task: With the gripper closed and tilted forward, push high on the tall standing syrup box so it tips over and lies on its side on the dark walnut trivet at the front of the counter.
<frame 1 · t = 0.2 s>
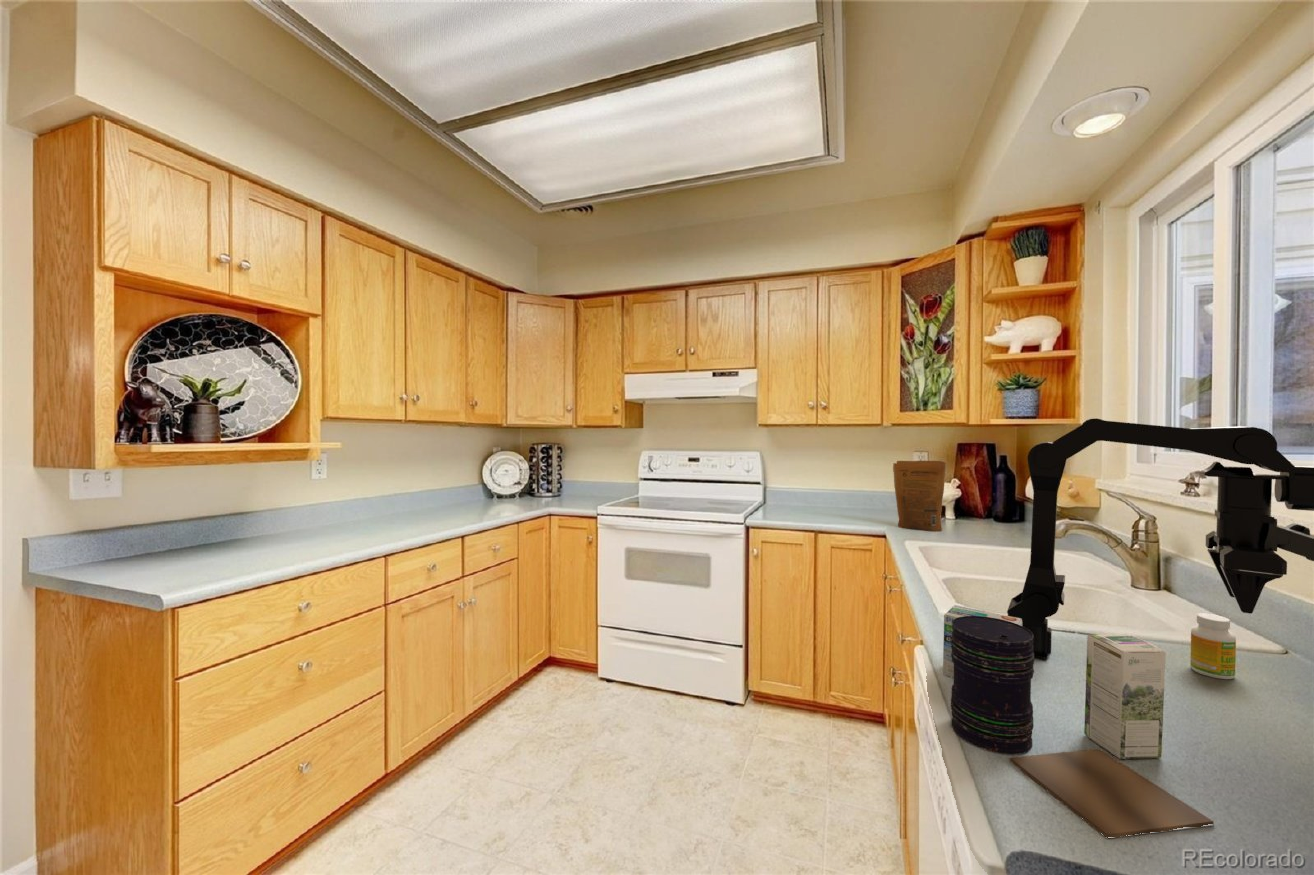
hand: (1240, 604, 85), 14 cm above the worktop, tool pointing down, fingers open, 9 cm apart
walnut trivet: (1102, 790, 63), on the worktop
supplement bottle: (1212, 674, 93), on the worktop
black ridged cylinder: (990, 735, 75), on the worktop
light bulb box: (981, 679, 92), on the worktop
pancake mix bag: (919, 529, 217), on the worktop
syrup box: (1122, 748, 72), on the worktop
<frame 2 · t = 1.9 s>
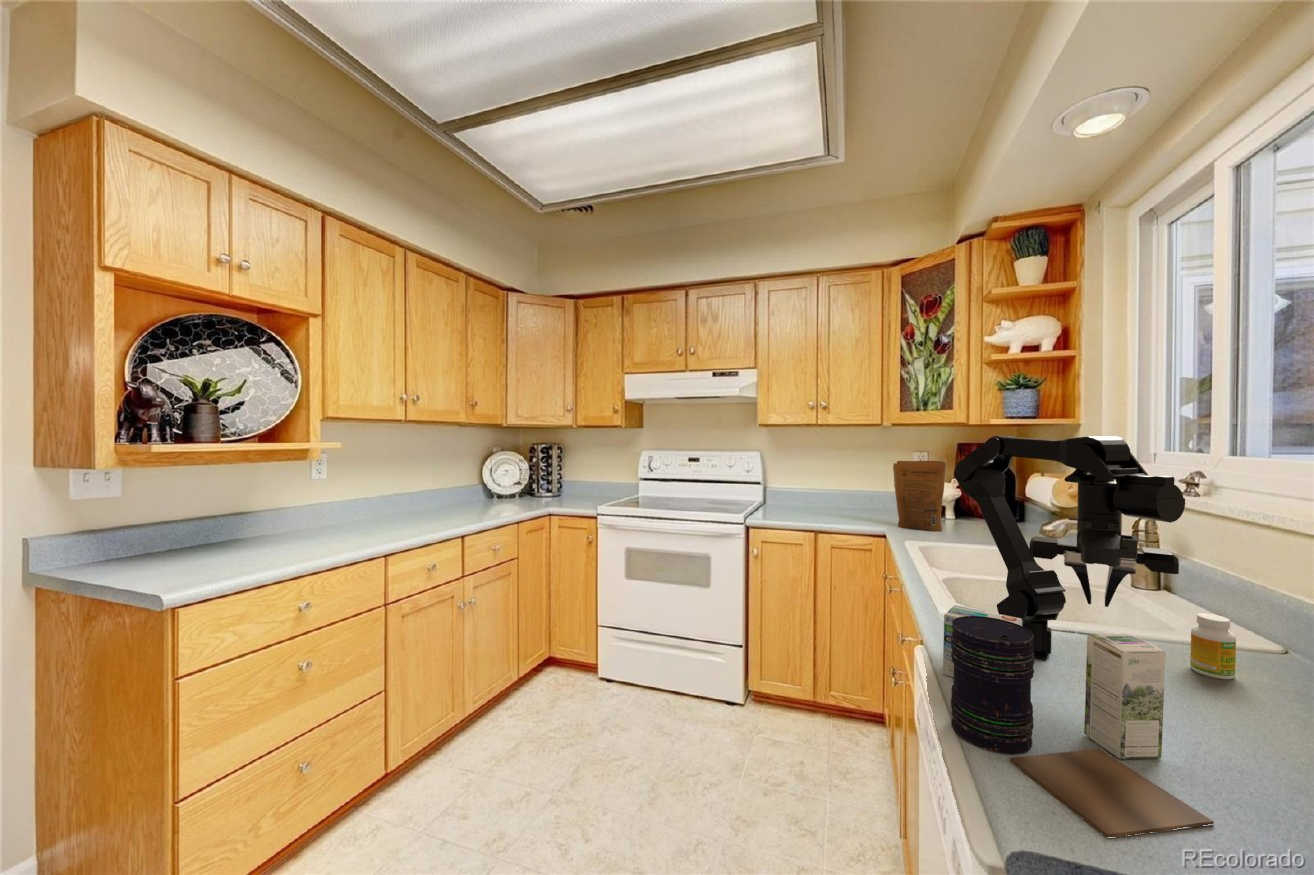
hand: (1097, 605, 89), 13 cm above the worktop, tool pointing down, fingers closed
nothing on the worktop moved.
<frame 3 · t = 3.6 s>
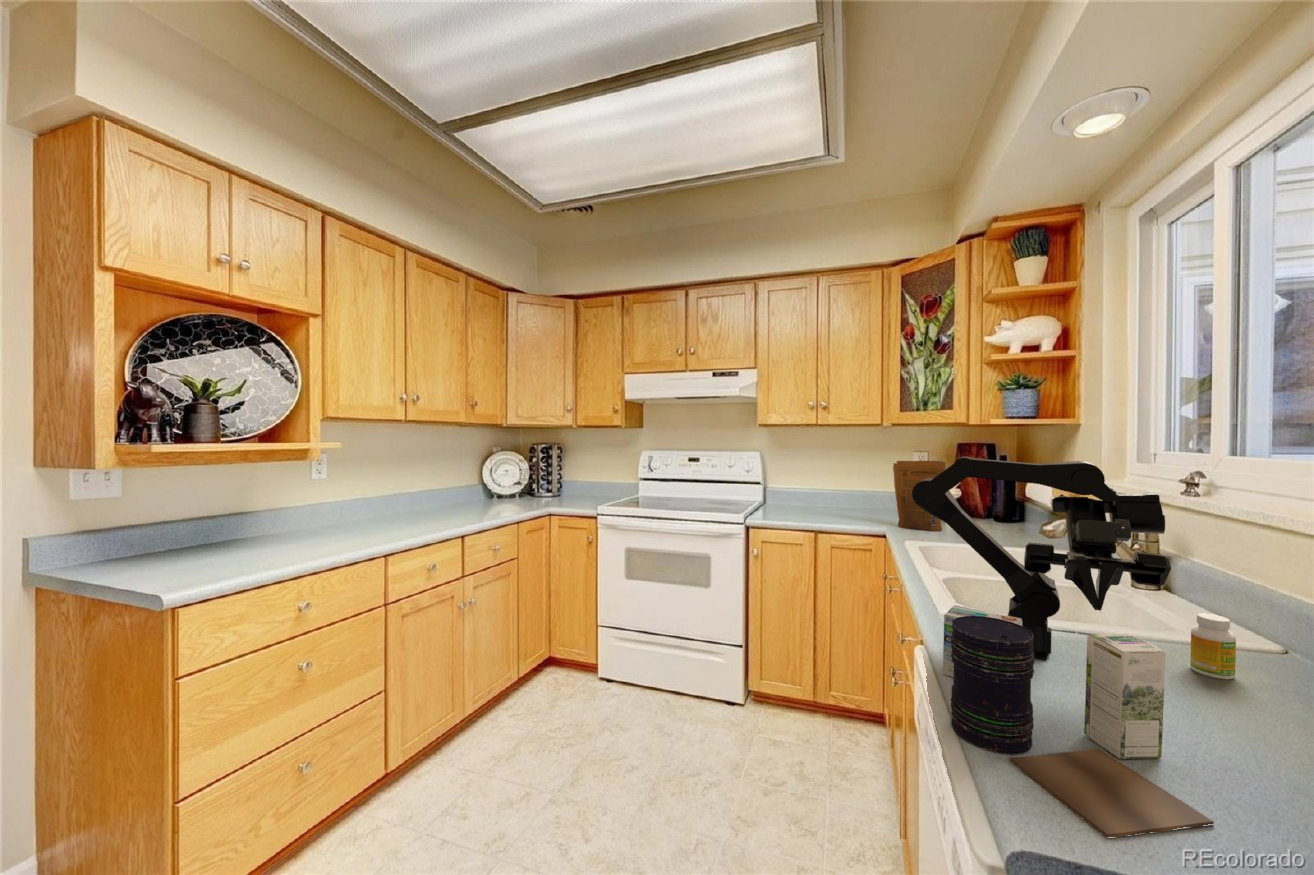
hand: (1098, 609, 86), 14 cm above the worktop, tool tilted 45°, fingers closed
nothing on the worktop moved.
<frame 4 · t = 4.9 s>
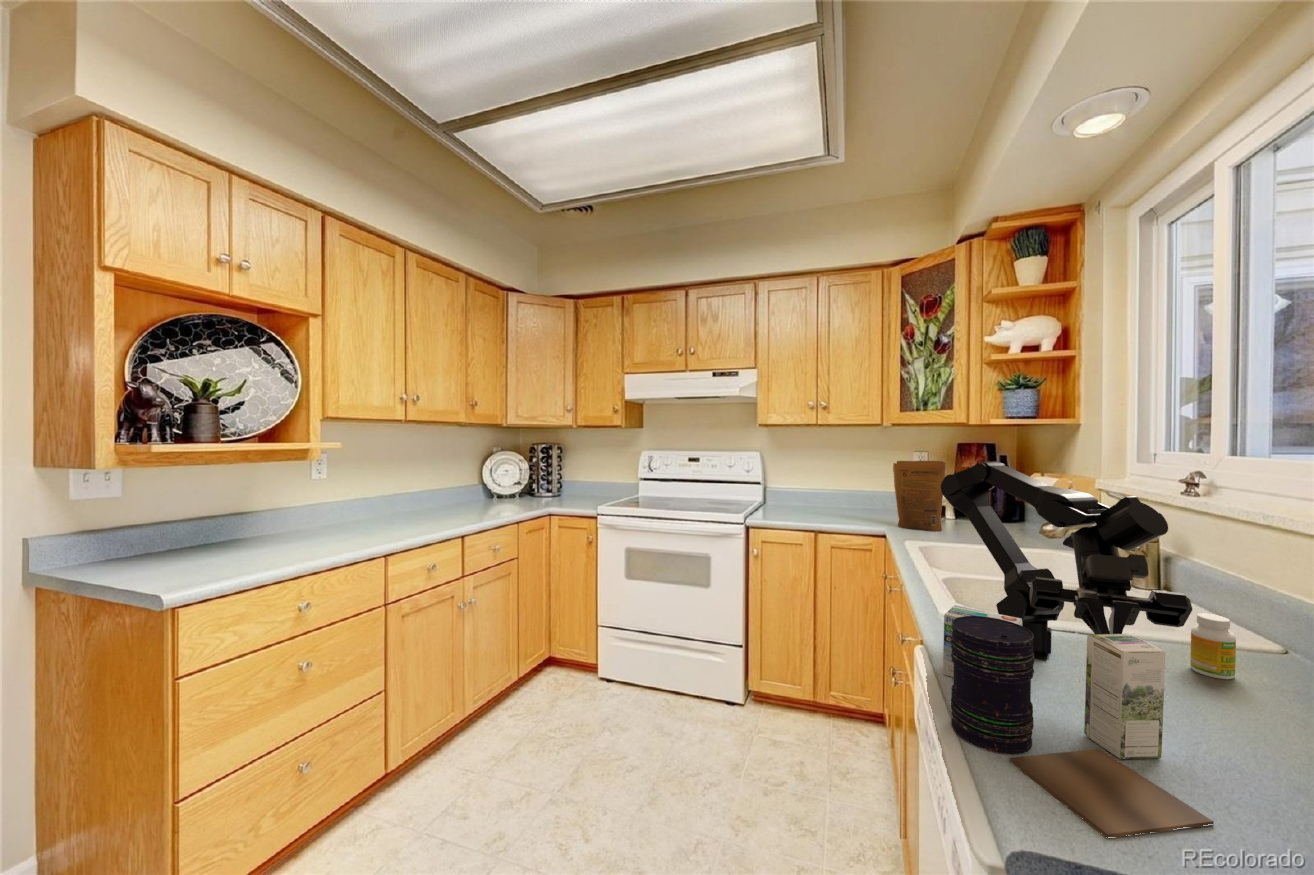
hand: (1113, 653, 78), 10 cm above the worktop, tool tilted 45°, fingers closed
nothing on the worktop moved.
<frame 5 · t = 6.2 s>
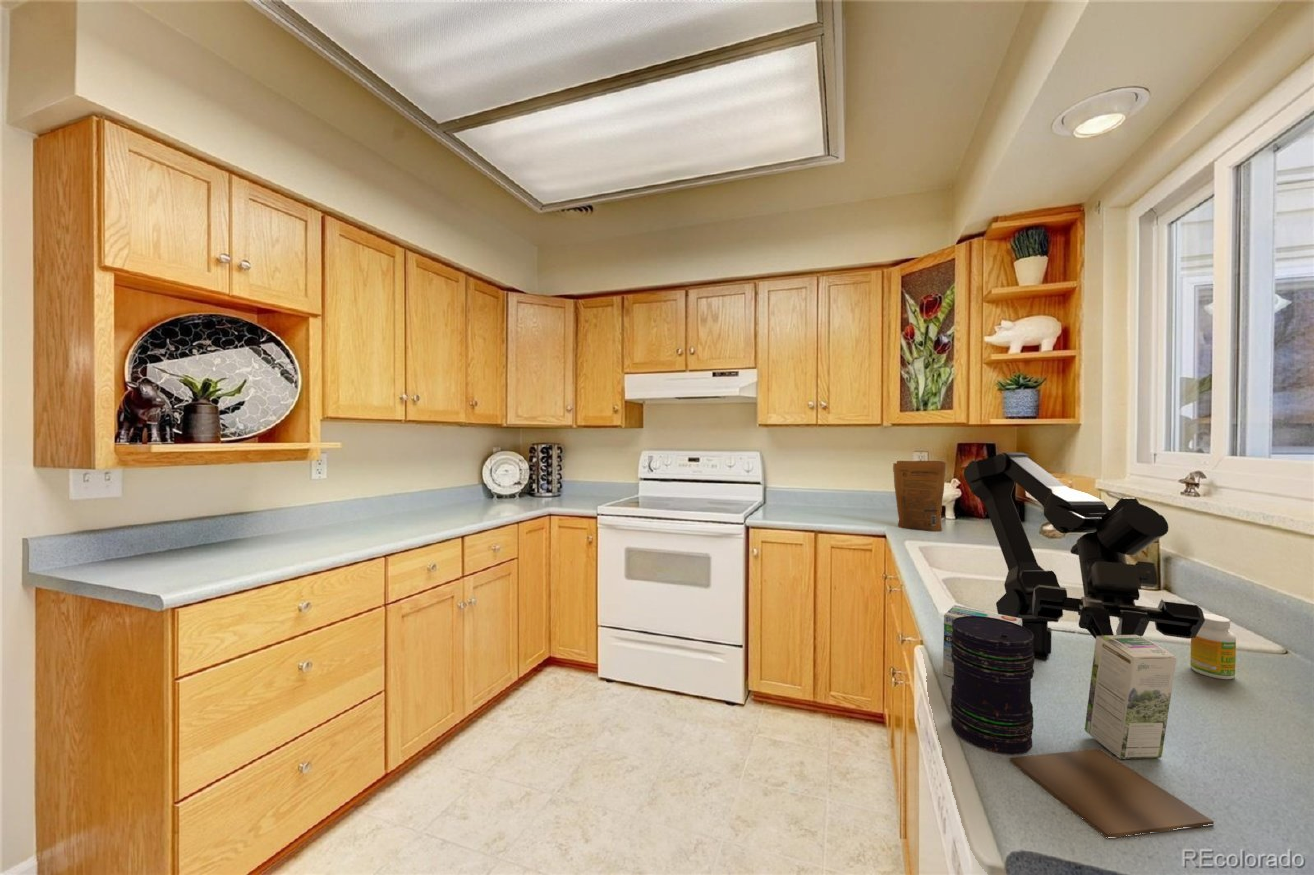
hand: (1120, 666, 74), 10 cm above the worktop, tool tilted 45°, fingers closed
syrup box: (1122, 746, 72), on the worktop, touching gripper
everything else where it was.
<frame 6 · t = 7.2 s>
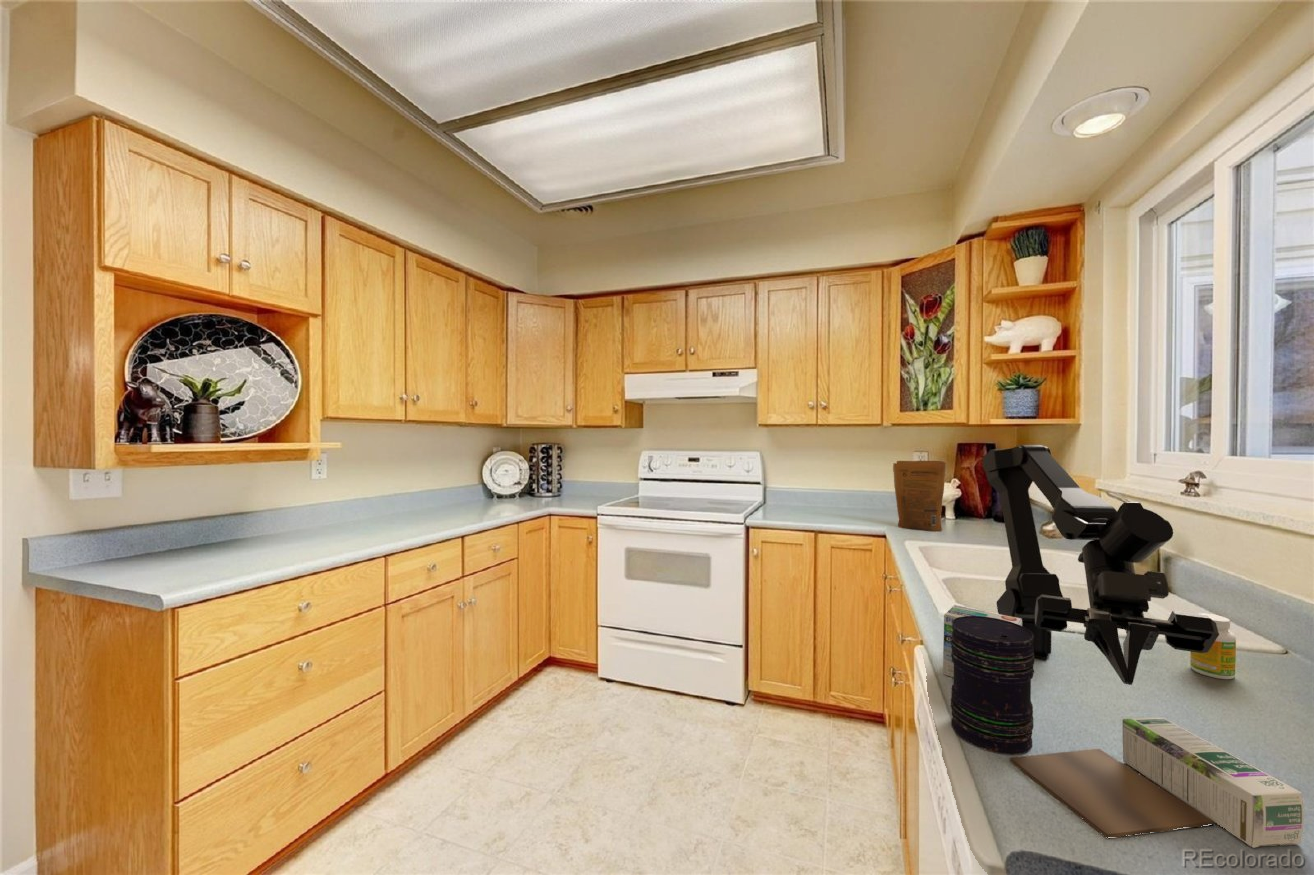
hand: (1128, 683, 70), 10 cm above the worktop, tool tilted 45°, fingers closed
syrup box: (1140, 738, 69), point 3 cm above the worktop
everything else where it was.
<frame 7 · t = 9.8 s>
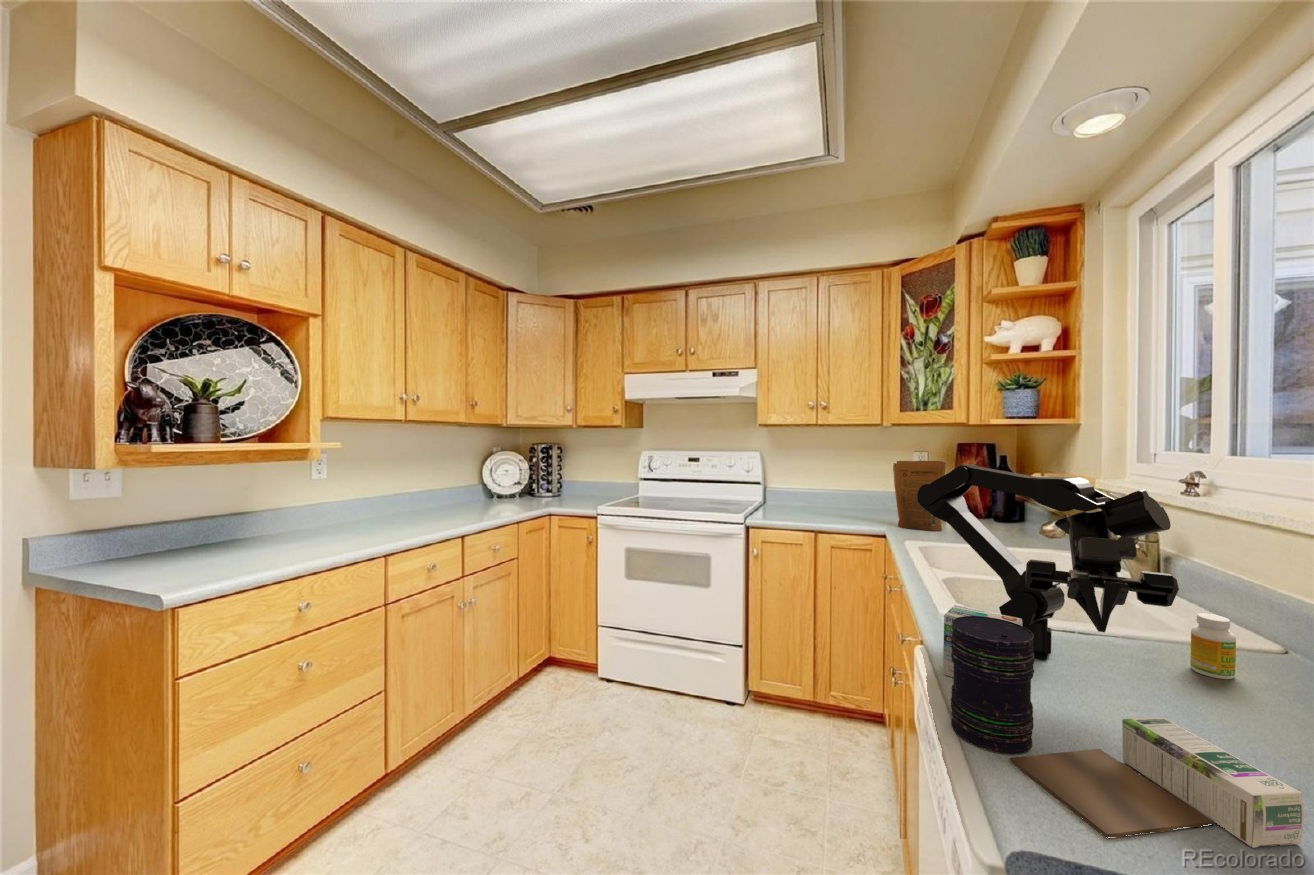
hand: (1102, 630, 82), 12 cm above the worktop, tool tilted 45°, fingers closed
nothing on the worktop moved.
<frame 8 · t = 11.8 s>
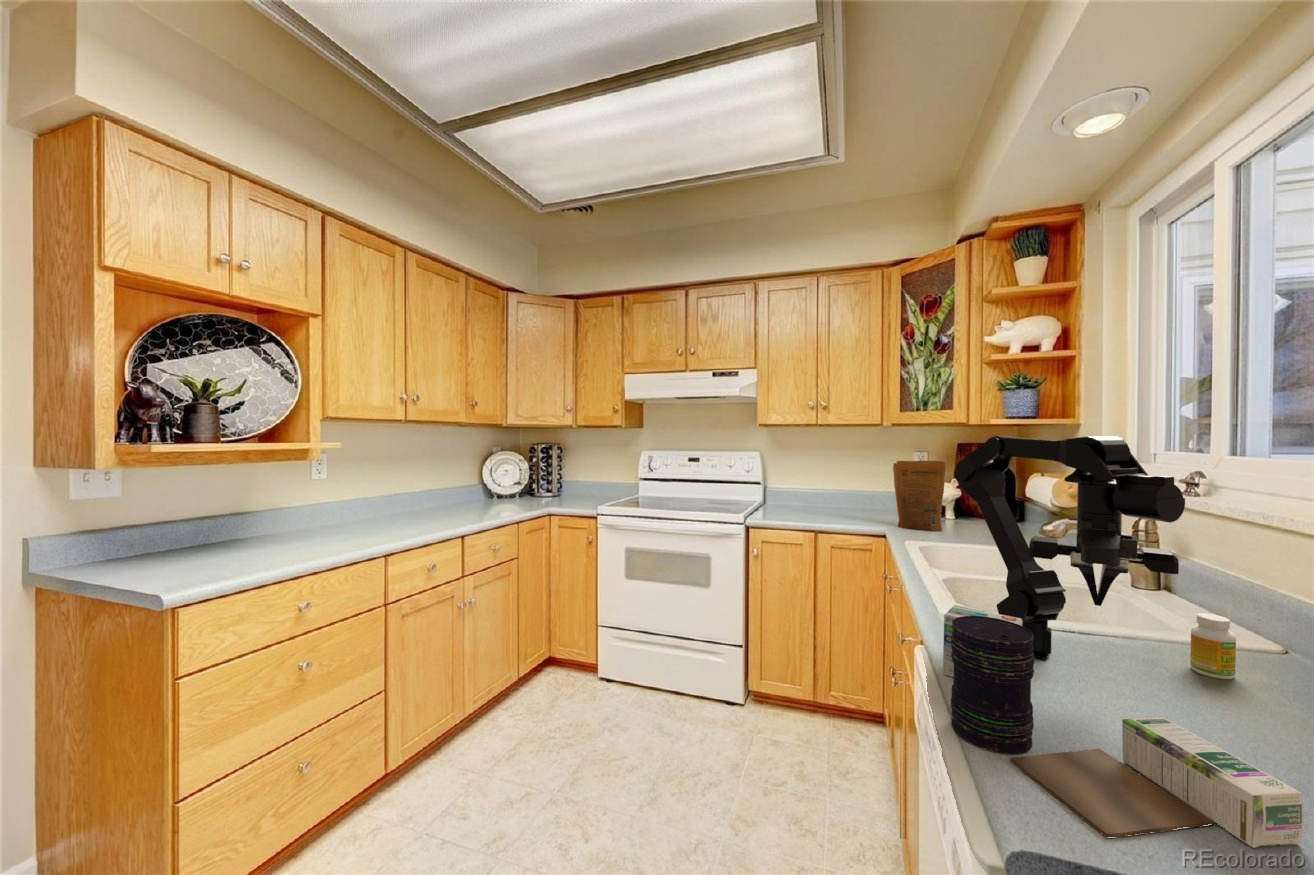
hand: (1097, 605, 89), 13 cm above the worktop, tool pointing down, fingers closed
nothing on the worktop moved.
at the end: syrup box tilted 89°; syrup box inside the target area (5.1 cm from its centre), point 2.7 cm above the worktop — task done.
